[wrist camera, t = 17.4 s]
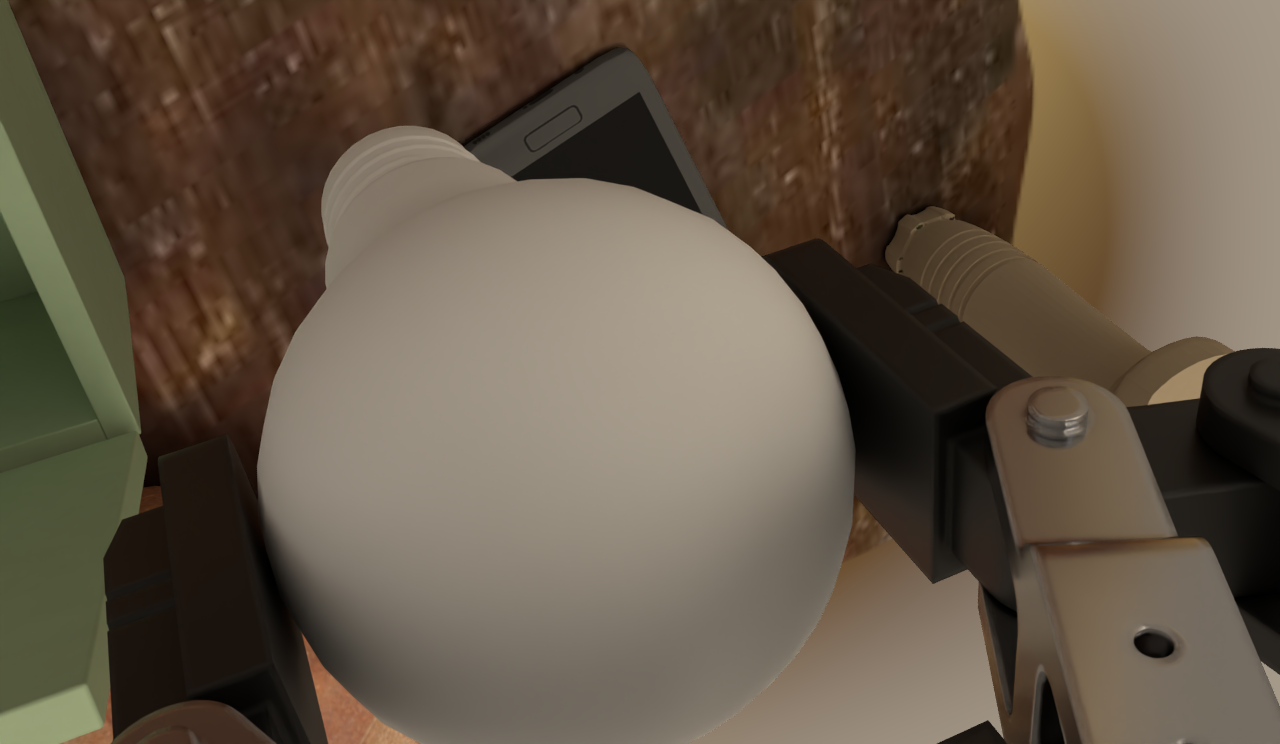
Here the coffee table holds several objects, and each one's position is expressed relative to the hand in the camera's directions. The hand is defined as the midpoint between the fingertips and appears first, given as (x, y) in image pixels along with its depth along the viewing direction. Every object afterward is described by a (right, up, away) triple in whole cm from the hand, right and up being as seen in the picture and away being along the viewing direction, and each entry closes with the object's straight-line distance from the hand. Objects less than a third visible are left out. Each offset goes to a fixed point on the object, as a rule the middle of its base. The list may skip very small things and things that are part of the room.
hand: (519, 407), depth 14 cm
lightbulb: (-3, +3, +5) cm, 7 cm away
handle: (+12, +6, +35) cm, 38 cm away
